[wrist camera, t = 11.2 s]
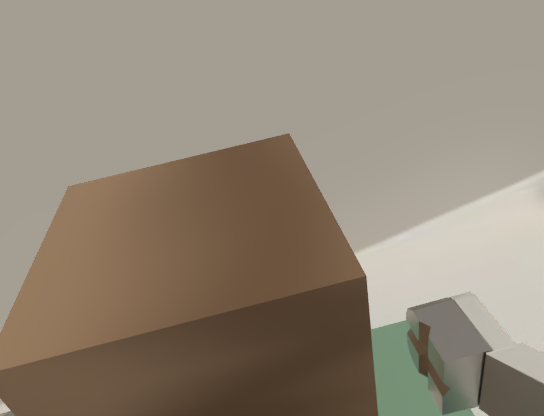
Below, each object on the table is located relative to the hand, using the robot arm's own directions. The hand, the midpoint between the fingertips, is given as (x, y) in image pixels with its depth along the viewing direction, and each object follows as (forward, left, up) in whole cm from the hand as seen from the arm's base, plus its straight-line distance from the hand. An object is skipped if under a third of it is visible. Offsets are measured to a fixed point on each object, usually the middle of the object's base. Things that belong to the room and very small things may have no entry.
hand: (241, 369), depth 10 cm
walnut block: (0, -1, -7) cm, 7 cm away
